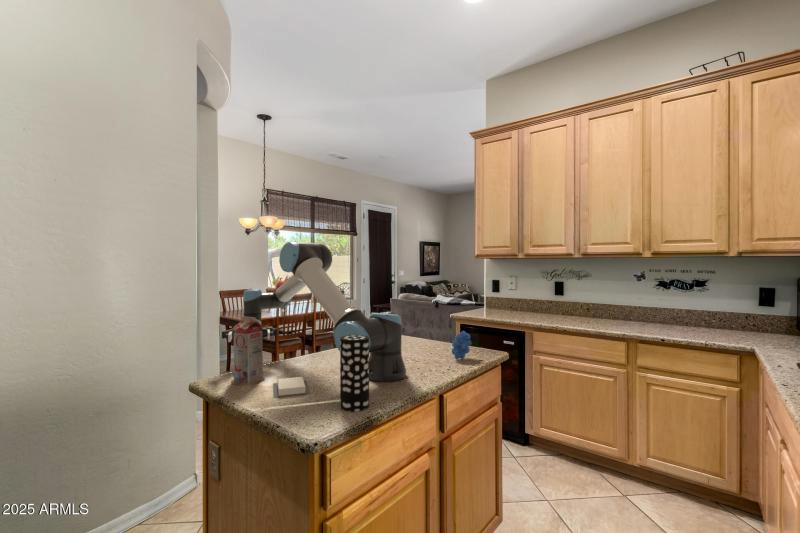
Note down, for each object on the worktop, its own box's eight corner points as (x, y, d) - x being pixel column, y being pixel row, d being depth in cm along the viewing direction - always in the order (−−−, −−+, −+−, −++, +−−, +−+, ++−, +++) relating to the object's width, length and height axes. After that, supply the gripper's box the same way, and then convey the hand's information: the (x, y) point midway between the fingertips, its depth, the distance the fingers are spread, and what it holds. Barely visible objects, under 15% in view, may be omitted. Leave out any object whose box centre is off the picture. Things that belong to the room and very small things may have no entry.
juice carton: (247, 383, 130) (247, 318, 130) (233, 380, 133) (233, 317, 133) (262, 378, 136) (262, 316, 136) (248, 375, 139) (248, 315, 138)
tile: (277, 379, 128) (278, 389, 118) (302, 376, 131) (305, 386, 120) (277, 385, 128) (278, 396, 118) (302, 383, 131) (305, 393, 120)
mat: (273, 385, 131) (273, 383, 131) (306, 381, 134) (306, 380, 134) (273, 399, 117) (273, 397, 117) (310, 395, 120) (310, 394, 120)
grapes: (463, 354, 174) (463, 328, 174) (474, 357, 169) (474, 330, 169) (445, 358, 167) (445, 331, 167) (456, 361, 162) (456, 333, 162)
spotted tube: (371, 409, 109) (371, 339, 109) (342, 413, 106) (342, 341, 106) (365, 399, 117) (365, 334, 117) (338, 402, 114) (338, 335, 114)
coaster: (270, 378, 139) (270, 375, 139) (254, 387, 128) (254, 385, 128) (242, 376, 140) (242, 374, 140) (224, 386, 130) (224, 383, 130)
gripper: (282, 335, 166) (284, 345, 146) (219, 338, 158) (212, 349, 138) (282, 317, 166) (284, 325, 146) (219, 320, 158) (212, 328, 138)
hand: (249, 337), depth 142 cm, fingers open, 13 cm apart
